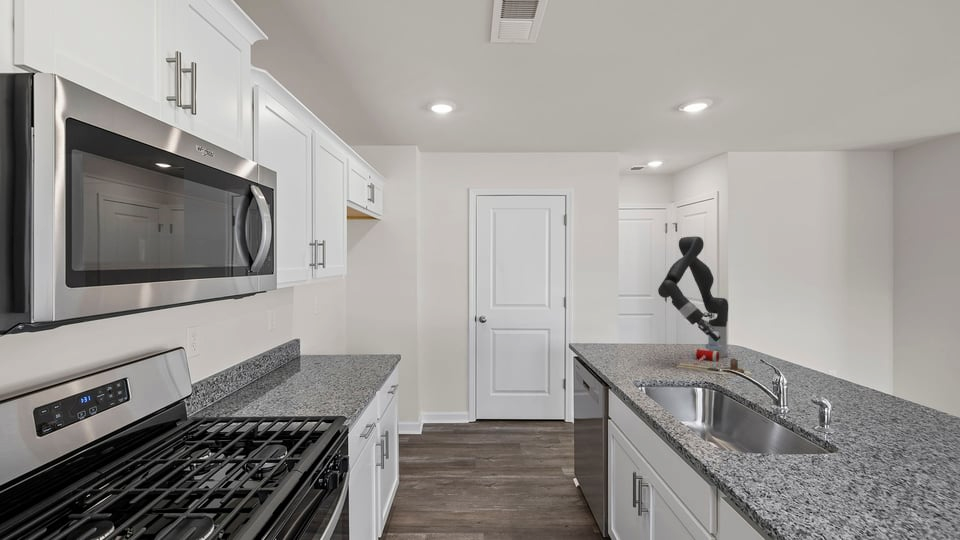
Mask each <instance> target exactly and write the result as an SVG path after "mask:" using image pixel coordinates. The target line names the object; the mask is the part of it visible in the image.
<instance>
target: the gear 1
mask: <svg viewBox="0 0 960 540" xmlns="http://www.w3.org/2000/svg"><path fill="white" fill-rule="evenodd" d="M713 333H714V334H715V335H716V336H717V337H718V338H719V332H714V331H713ZM704 346H705V349H706V350H708V349H712V350H721V349H722V345H719V340H718V341H714V340H713V339H712V338H711V337H710V336H709V344H708V343H706V344H705V345H704Z"/></svg>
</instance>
